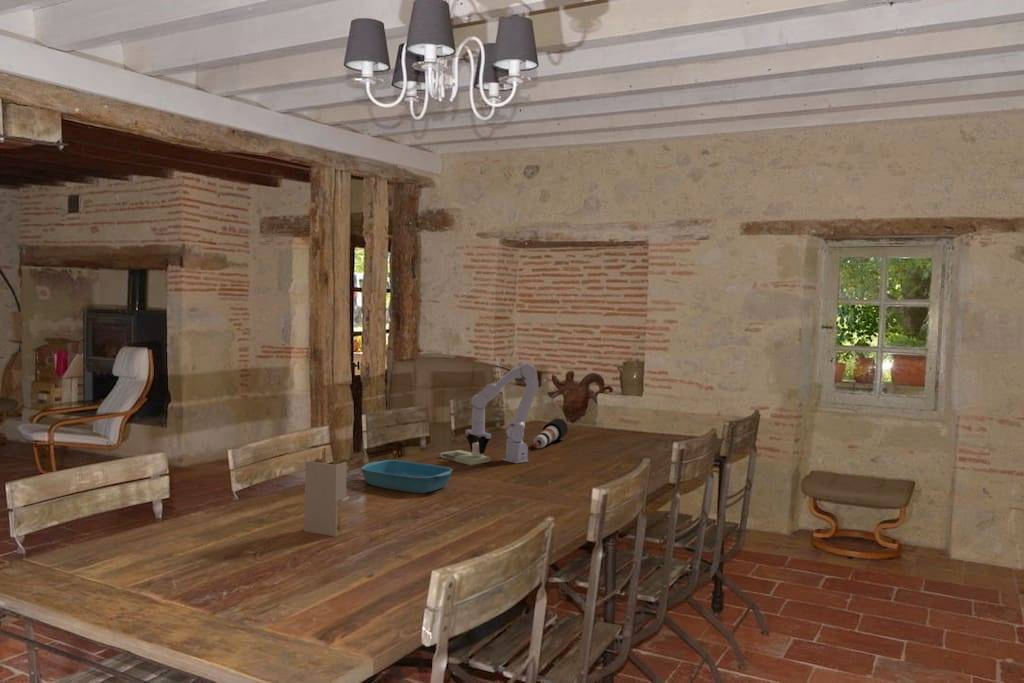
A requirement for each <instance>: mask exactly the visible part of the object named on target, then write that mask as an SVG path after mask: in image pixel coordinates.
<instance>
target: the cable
mask: <svg viewBox="0 0 1024 683" xmlns="http://www.w3.org/2000/svg"><path fill="white" fill-rule="evenodd" d="M568 428H569V427H568V424H567V422H566V421H565V420H563V419H561V418H554V419H552V420H551V421H549V422H548V423H547V424H545V425H544V426H543V427H542V431H540V433H539V434H537V436H535V437H534V438H533V442H532V444H533V445H532V446H533V447H534V448H536V449H542V448H543V449H544V447H547V446H548V445H549V444H551V443H557V442H558V441H560V440H561V439H563V437H565V436H566V435H567V434H568V431H569V430H568Z"/></svg>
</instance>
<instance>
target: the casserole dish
mask: <svg viewBox="0 0 1024 683" xmlns="http://www.w3.org/2000/svg"><path fill="white" fill-rule="evenodd" d="M361 472H362V475H363V477H364V480H365V482H366V483H368V484H369V485H370V486H374V487H378V488H384V489H389V490H394V491H398V492H399V491H400V492H401V491H402V492H406V493H412V494H413V493H414V494H427V493H428V494H429V493H431V492H435V491H437V490H440V489H442V488H444V487H445V486H446V485H447V484H448V483H449V480H450V479H451V475H452V472H453V468H451V467H448V466H444V465H436V464H429V463H424V462H423V463H422V462H416V461H408V460H400V459H388V460H387V459H386V460H380V461H379V460H378V461H371V462H368V463H365V464H364V465H363V466H362V467H361Z"/></svg>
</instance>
